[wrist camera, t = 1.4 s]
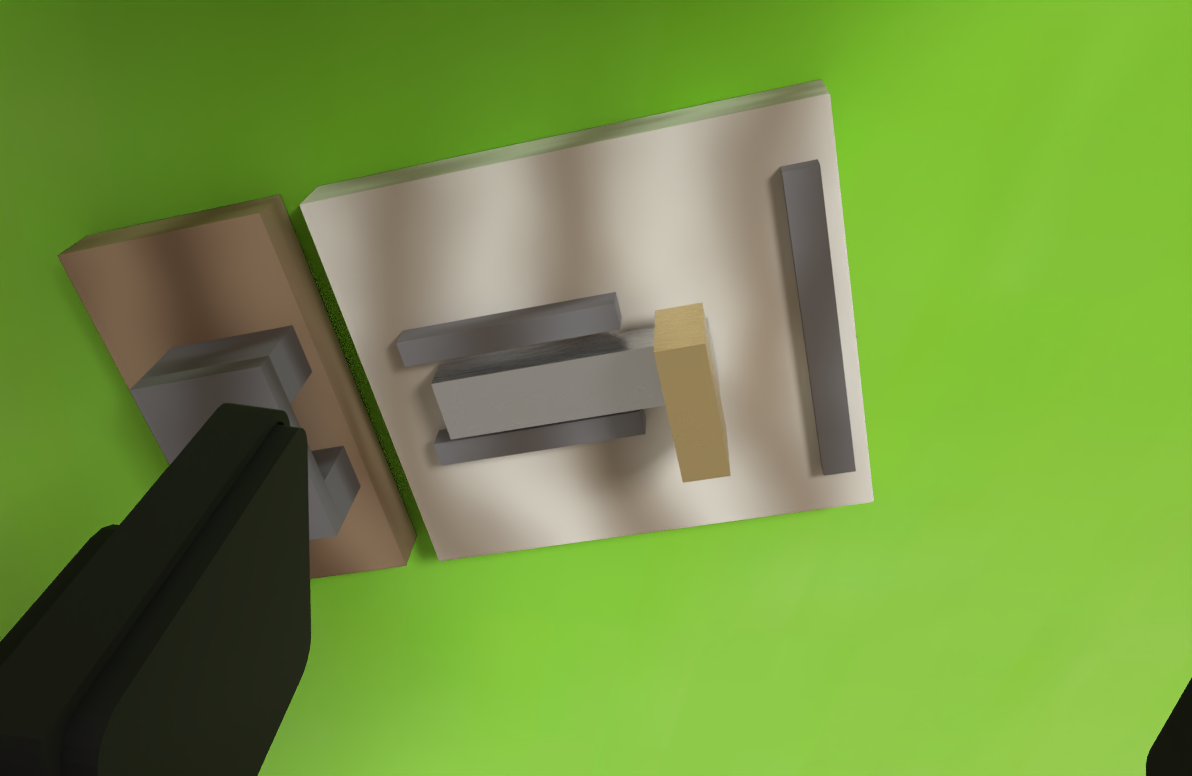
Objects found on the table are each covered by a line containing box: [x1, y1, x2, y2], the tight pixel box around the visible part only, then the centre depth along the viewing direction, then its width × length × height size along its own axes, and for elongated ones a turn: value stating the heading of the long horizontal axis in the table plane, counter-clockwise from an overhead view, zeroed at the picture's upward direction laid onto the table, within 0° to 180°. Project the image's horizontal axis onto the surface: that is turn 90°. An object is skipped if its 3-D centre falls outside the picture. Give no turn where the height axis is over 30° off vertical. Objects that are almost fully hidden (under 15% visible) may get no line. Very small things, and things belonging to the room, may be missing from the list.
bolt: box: [431, 302, 731, 483], centre depth 33 cm, size 10×5×4 cm, turn 103°
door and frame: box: [57, 79, 874, 579], centre depth 35 cm, size 28×16×5 cm, turn 103°
